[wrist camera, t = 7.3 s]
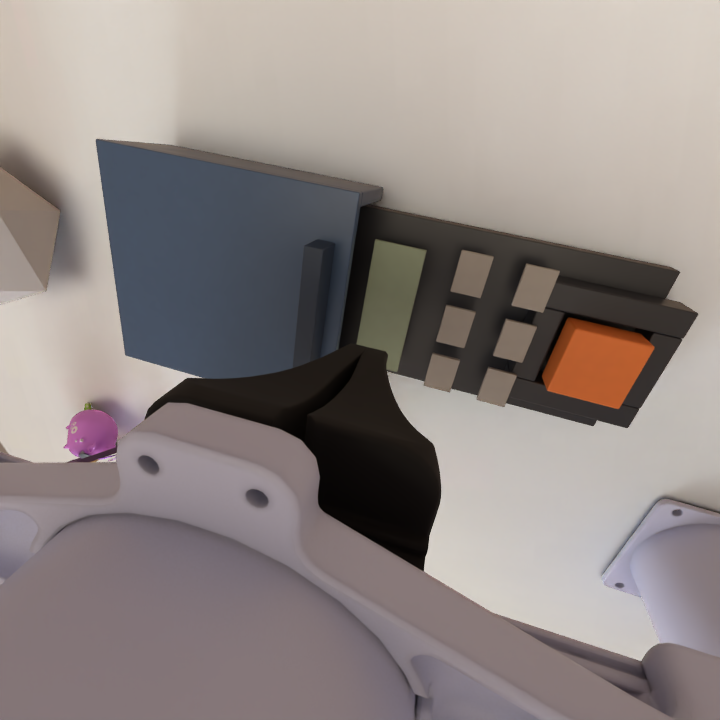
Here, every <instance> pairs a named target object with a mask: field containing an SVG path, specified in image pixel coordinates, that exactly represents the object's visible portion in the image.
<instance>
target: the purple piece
mask: <svg viewBox="0 0 720 720" xmlns="http://www.w3.org/2000/svg"><path fill="white" fill-rule="evenodd" d="M91 404H92V403H91ZM91 404H90V403H88V402H87V403H86V404H85V408H84V411H81V412H79V413H77V414H76V415H75V416H74V417H73V418H72V420H71V422H70V425H69V426H67V427H66V429H69V430H68V439H67V444H66V445H65V446H64V448H69V450H70V452H71V453H72V454H74V455H75V456H77V457H80V458H78V459H75V460H72V461H69V462H66V463H73V462H97V461H98V460H100V459H105V458H109V457H112V456H109V455H111V454H114V453H117V446H115V443H116V440H117V436H118V429H117V425H116V423H115V421H114V420H113V418H112V417H111V416H110V415H108V414H107V413H105V412H103V411H100V410H92V409H93V408H94V407H91ZM106 456H108V457H106ZM113 456H115V455H113ZM115 459H116V458H113V459H111V460H108V462H109V461H112V460H115Z"/></svg>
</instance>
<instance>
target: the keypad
mask: <svg viewBox="0 0 720 720" xmlns="http://www.w3.org/2000/svg"><path fill="white" fill-rule="evenodd" d="M426 252H427V250H424V249H419V248H415V247H410V246H405V245H401V244H396V243H392V242H387V241H383V240H378V239H376V240H375V243H374V249H373V254H372V260H371V265H370V271H369V277H368V282H367V288H366V294H365V299H364V305H363V310H362V316H361V322H360V327H359V333H358V339H357V345H361V346H365V347H369V348H374V349H378V350H382V351H386V353H387V354H388V359H387V364H386V368H387V370H390V371H394V372H397V371H398V367H399V363H400V359H401V355H402V351H403V346H404V342H405V338H406V334H407V330H408V326H409V322H410V318H411V313H412V309H413V305H414V301H415V297H416V293H417V289H418V285H419V280H420V276H421V272H422V268H423V264H424V260H425V256H426ZM493 258H494V257H493V256H489V255H485V254H480V253H476V252H471V251H466V250H462V251H461V255H460V258H459V262H458V265H457V269H456V272H455V276H454V279H453V283H452V286H451V290H450V291H451V292H456V293H460V294H464V295H469V296H473V297H477V298H481V295H482V292H483V289H484V286H485V283H486V280H487V277H488V274H489V271H490V268H491V265H492V261H493ZM559 273H560V271H559V270H554V269H550V268H545V267H540V266H536V265H531V264H526V265H525V268H524V271H523V273H522V276H521V279H520V282H519V284H518V287H517V290H516V292H515V295H514V298H513V301H512V303H511V305H512V306H516V307H520V308H525V309H529V310H533V311H538V312H542V313H543V312H544V309H545V307H546V304H547V302H548V300H549V297H550V295H551V292H552V290H553V288H554V285H555V283H556V280H557V278H558V275H559ZM475 314H476V311H472V310H468V309H464V308H459V307H455V306H451V305H446V307H445V311H444V314H443V318H442V321H441V325H440V328H439V332H438V336H437V339H436V341H437V342H441V343H445V344H449V345H453V346H457V347H461V348H464V347H465V344H466V341H467V338H468V335H469V332H470V329H471V326H472V323H473V320H474V317H475ZM536 329H537V326H535V325H531V324H527V323H523V322H518V321H514V320H510V319H506V320H505V322H504V325H503V328H502V331H501V333H500V336H499V339H498V341H497V344H496V347H495V350H494V352H493V356H497V357H501V358H505V359H508V360H512V361H516V362H520V363H522V362H523V360H524V358H525V355H526V353H527V350H528V348H529V346H530V343H531V341H532V338H533V336H534V333H535V331H536ZM459 363H460V359H456V358H452V357H449V356H445V355H441V354H437V353H432V357H431V360H430V364H429V367H428V371H427V374H426V378H425V381H424V386H428V387H431V388H435V389H439V390H442V391H446V392H450V390H451V387H452V384H453V381H454V378H455V375H456V372H457V369H458V366H459ZM516 377H517V374H515V373H511V372H507V371H503V370H499V369H496V368H492V367H488V369H487V371H486V374H485V377H484V379H483V382H482V385H481V388H480V390H479V393H478V396H477V400H480V401H483V402H487V403H491V404H495V405H498V406H502V407H504V406H505V404H506V401H507V399H508V396H509V394H510V391H511V389H512V387H513V384H514V382H515V379H516Z"/></svg>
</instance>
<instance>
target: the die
mask: <svg viewBox="0 0 720 720" xmlns="http://www.w3.org/2000/svg"><path fill="white" fill-rule="evenodd" d="M59 217H60V210H59V209H57V208H56V207H55V206H53V205H52V204H50V203H49V202H48V201H46V200H45V199H44V198H42V197H41V196H39V195H38V194H37V193H35V192H34V191H32V190H31V189H30V188H28V187H27V186H26V185H24V184H23V183H21V182H20V181H19V180H17V179H16V178H15V177H13V176H12V175H10V174H9V173H8V172H6V171H5V170H4V169H2V168H1V167H0V305H1V304H5V303H8V302H11V301H15V300H18V299H22V298H25V297H29V296H32V295H36V294H39V293H42V292H46V291H47V285H48V279H49V274H50V268H51V262H52V257H53V251H54V245H55V240H56V234H57V228H58V223H59Z"/></svg>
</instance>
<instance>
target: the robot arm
mask: <svg viewBox="0 0 720 720" xmlns="http://www.w3.org/2000/svg"><path fill="white" fill-rule="evenodd" d="M387 359H388V354H387V353H386V351H382V350H378V349H374V348H369V347H365V346H361V345H357V344H352V343H351V344H349V345H346V346H344V347H342V348H340V349H338V350H336V351H334V352H332V353H330V354H328V355H325V356H323V357H321V358H319V359H316V360H314V361H311V362H308V363H306V364H303V365H301V366H298V367H294V368H291V369H287V370H284V371H280V372H275V373H270V374H264V375H258V376H251V377H241V378H225V379H208V378H187V379H185V380H184V381H182V382H181V383H180V384H178V385H177V386H176V387H174V388H173V389H172V390H170V391H169V392H168V393H166V394H165V395H164V396H162V397H161V398H159V399H158V400H157V401H155V402H154V403H153V405H152V406H151V407H150V408H149V409H148V411H147V414H146V417H145V420H144V421H143V422H141V423H140V424H139V425H138V426H136V427H135V428H134V429H132V430H131V431H130V432H129V433H127V434H126V435H125V436H123V437H122V438H121V439H119V440H118V445H117V454H116V462H73V463H33V462H30V461H27V460H24V459H21V458H18V457H15V456H12V455H9V454H5V453H3V452H0V720H720V514H719V513H716V512H712V511H709V510H705V509H702V508H698V507H695V506H691V505H688V504H684V503H681V502H677V501H674V500H670V499H662V500H659V501H658V502H657V503H656V504H655V505H654V507H653V508H652V509H651V511H650V512H649V513H648V515H647V516H646V518H645V519H644V520H643V522H642V523H641V524H640V526H639V527H638V528H637V530H636V531H635V532H634V534H633V535H632V536H631V538H630V539H629V540H628V542H627V543H626V544H625V546H624V547H623V548H622V550H621V551H620V552H619V554H618V555H617V556H616V558H615V559H614V560H613V562H612V563H611V564H610V566H609V567H608V568H607V570H606V571H605V572H604V574H603V575H602V581H603V584H604V585H606V586H608V587H611V588H614V589H617V590H620V591H623V592H626V593H629V594H633V595H636V596H639V597H642V600H643V602H644V605H645V607H646V610H647V612H648V615H649V617H650V620H651V622H652V625H653V627H654V629H655V632H656V634H657V637H658V639H659V642H660V644H657V645H655V646H653V647H652V648H651V649H650V650H649V651H648V652H647V653H646V654H645V656H644V658H643V659H642V661H638V660H635V659H632V658H629V657H626V656H623V655H620V654H617V653H614V652H611V651H608V650H605V649H601V648H598V647H595V646H592V645H589V644H586V643H583V642H580V641H577V640H574V639H571V638H568V637H565V636H562V635H559V634H556V633H553V632H550V631H546V630H543V629H540V628H537V627H534V626H531V625H528V624H525V623H522V622H519V621H516V620H513V619H510V618H507V617H504V616H501V615H498V614H494V613H492V612H490V611H489V610H487V609H485V608H484V607H482V606H480V605H479V604H477V603H475V602H474V601H472V600H470V599H469V598H467V597H465V596H464V595H462V594H460V593H458V592H457V591H455V590H453V589H452V588H450V587H448V586H447V585H445V584H443V583H442V582H440V581H438V580H437V579H435V578H433V577H432V576H430V575H428V574H427V573H425V572H424V563H425V556H426V554H427V550H428V543H429V535H430V532H431V529H432V526H433V523H434V520H435V517H436V514H437V511H438V508H439V504H440V499H441V480H440V471H439V465H438V460H437V456H436V452H435V448H434V445H433V443H431V442H430V441H429V440H428V439H427V438H425V437H424V436H423V435H422V434H420V433H419V432H418V431H417V430H416V429H415V428H414V427H413V426H412V425H411V424H410V423H409V421H408V420H407V419H406V417H405V416H404V415H403V413H402V412H401V410H400V408H399V406H398V404H397V402H396V400H395V398H394V396H393V393H392V390H391V387H390V384H389V380H388V375H387V368H386V364H387ZM676 509H678V510H676ZM674 510H676V511H674Z"/></svg>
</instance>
